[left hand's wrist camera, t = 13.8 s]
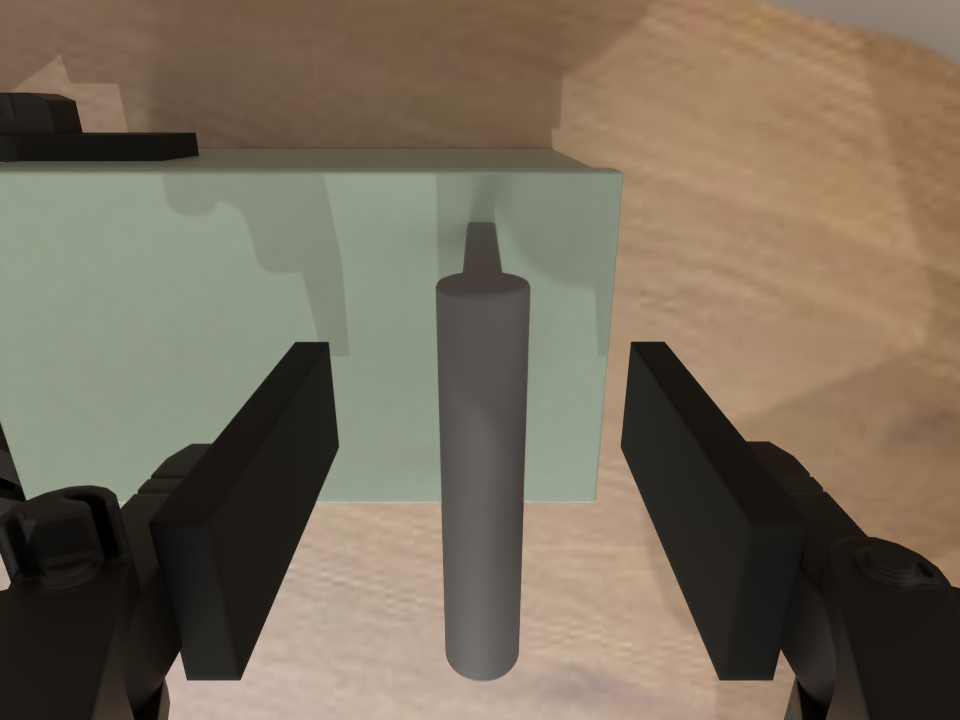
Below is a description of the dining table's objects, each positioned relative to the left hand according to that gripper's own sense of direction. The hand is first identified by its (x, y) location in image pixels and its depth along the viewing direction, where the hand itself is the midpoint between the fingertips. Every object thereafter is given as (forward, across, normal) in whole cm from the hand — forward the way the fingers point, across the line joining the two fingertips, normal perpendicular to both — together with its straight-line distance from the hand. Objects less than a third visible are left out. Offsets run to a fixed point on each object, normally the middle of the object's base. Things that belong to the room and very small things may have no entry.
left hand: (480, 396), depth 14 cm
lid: (+4, +5, 0) cm, 6 cm away
